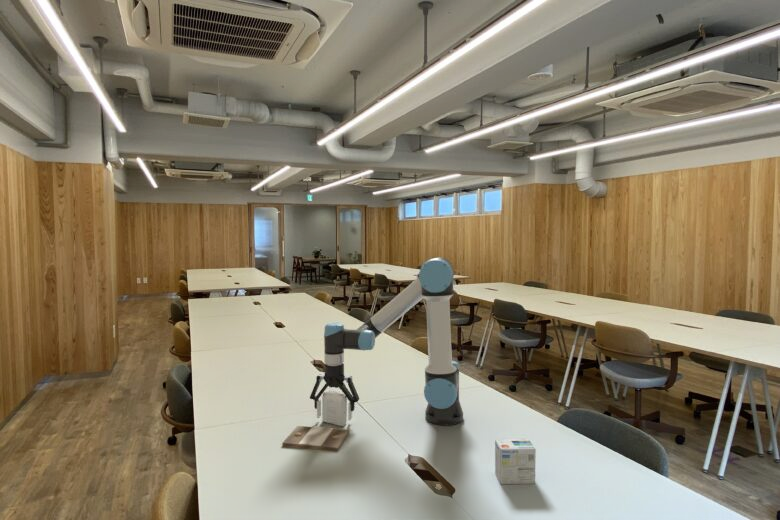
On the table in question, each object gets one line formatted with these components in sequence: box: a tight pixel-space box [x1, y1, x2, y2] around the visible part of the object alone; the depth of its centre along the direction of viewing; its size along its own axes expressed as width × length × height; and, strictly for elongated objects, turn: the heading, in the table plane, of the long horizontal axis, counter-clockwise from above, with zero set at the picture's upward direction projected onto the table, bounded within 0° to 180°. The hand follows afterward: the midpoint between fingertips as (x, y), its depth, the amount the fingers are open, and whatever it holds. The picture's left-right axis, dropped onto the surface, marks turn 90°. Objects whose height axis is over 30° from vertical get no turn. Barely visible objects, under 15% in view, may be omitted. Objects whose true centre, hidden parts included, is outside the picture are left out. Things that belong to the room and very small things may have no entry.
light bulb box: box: [494, 438, 537, 485], centre depth 131 cm, size 11×7×11 cm, turn 92°
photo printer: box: [321, 390, 348, 427], centre depth 171 cm, size 10×4×12 cm, turn 60°
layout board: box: [281, 425, 350, 452], centre depth 156 cm, size 20×14×2 cm
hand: (334, 417), depth 171 cm, fingers open, 12 cm apart
